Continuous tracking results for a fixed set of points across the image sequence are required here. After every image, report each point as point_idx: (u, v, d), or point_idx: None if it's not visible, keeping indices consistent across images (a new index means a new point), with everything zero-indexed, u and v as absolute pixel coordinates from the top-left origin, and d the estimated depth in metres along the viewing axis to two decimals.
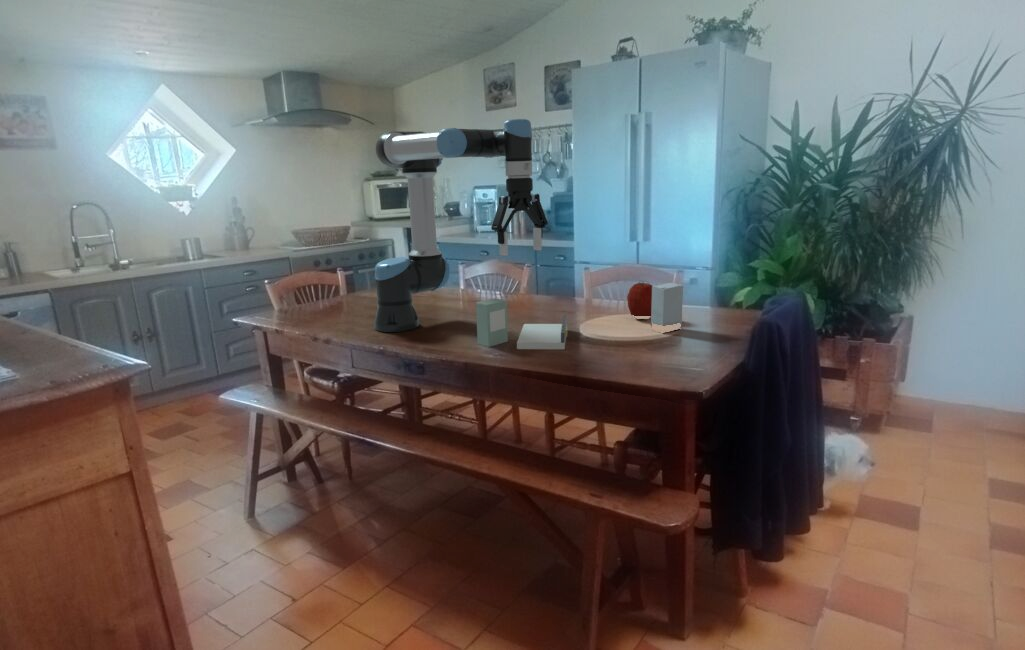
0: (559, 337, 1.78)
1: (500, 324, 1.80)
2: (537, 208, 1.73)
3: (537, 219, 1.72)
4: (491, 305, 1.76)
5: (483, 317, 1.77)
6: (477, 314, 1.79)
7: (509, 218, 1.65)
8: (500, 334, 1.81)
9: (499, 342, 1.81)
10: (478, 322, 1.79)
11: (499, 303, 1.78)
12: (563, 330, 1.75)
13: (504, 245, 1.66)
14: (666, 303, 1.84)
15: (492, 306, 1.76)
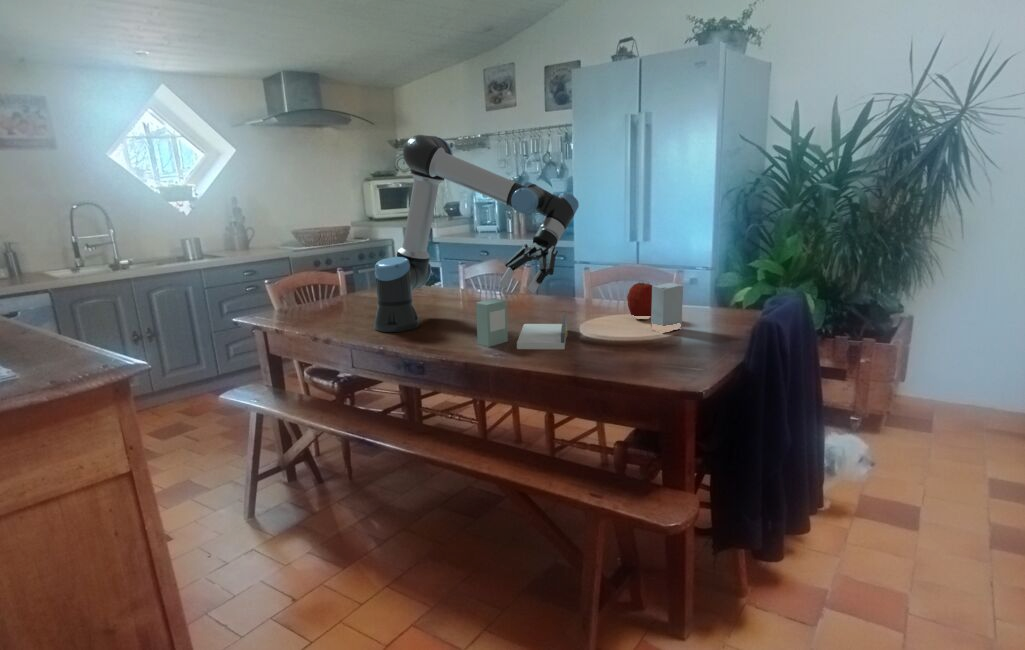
0: (559, 337, 1.78)
1: (500, 324, 1.80)
2: None
3: None
4: (491, 305, 1.76)
5: (483, 317, 1.77)
6: (477, 314, 1.79)
7: None
8: (500, 334, 1.81)
9: (499, 342, 1.81)
10: (478, 322, 1.79)
11: (499, 303, 1.78)
12: (563, 330, 1.75)
13: (537, 285, 1.81)
14: (666, 303, 1.84)
15: (492, 306, 1.77)
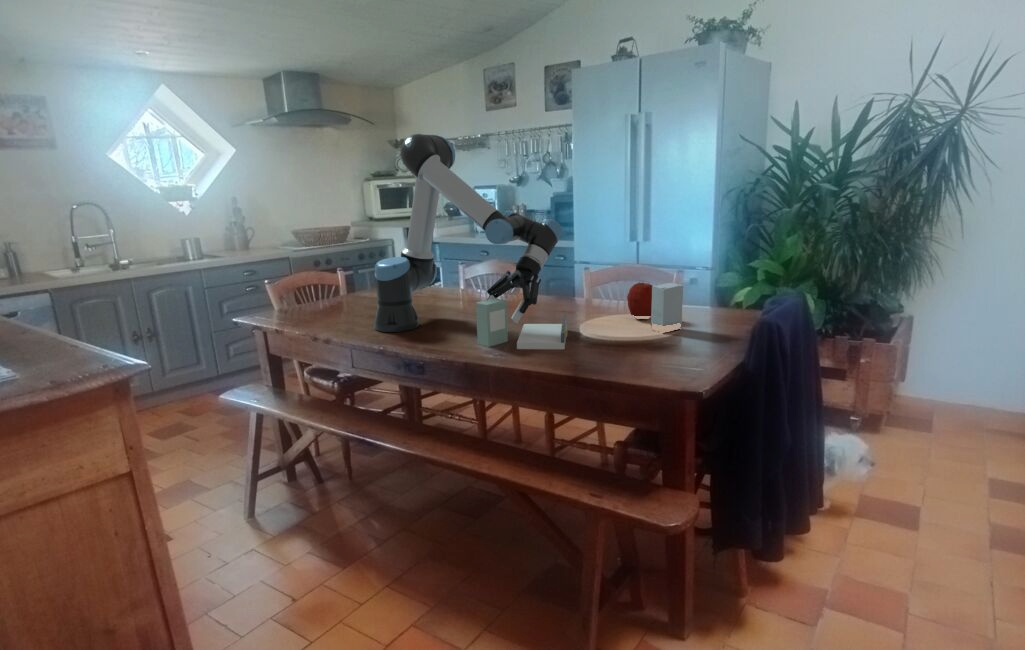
0: (559, 337, 1.78)
1: (500, 324, 1.80)
2: (503, 283, 1.90)
3: None
4: (491, 305, 1.76)
5: (483, 317, 1.77)
6: (477, 314, 1.79)
7: None
8: (500, 334, 1.81)
9: (499, 342, 1.81)
10: (478, 322, 1.79)
11: (499, 303, 1.78)
12: (563, 330, 1.75)
13: (520, 314, 1.77)
14: (666, 303, 1.84)
15: (492, 306, 1.77)
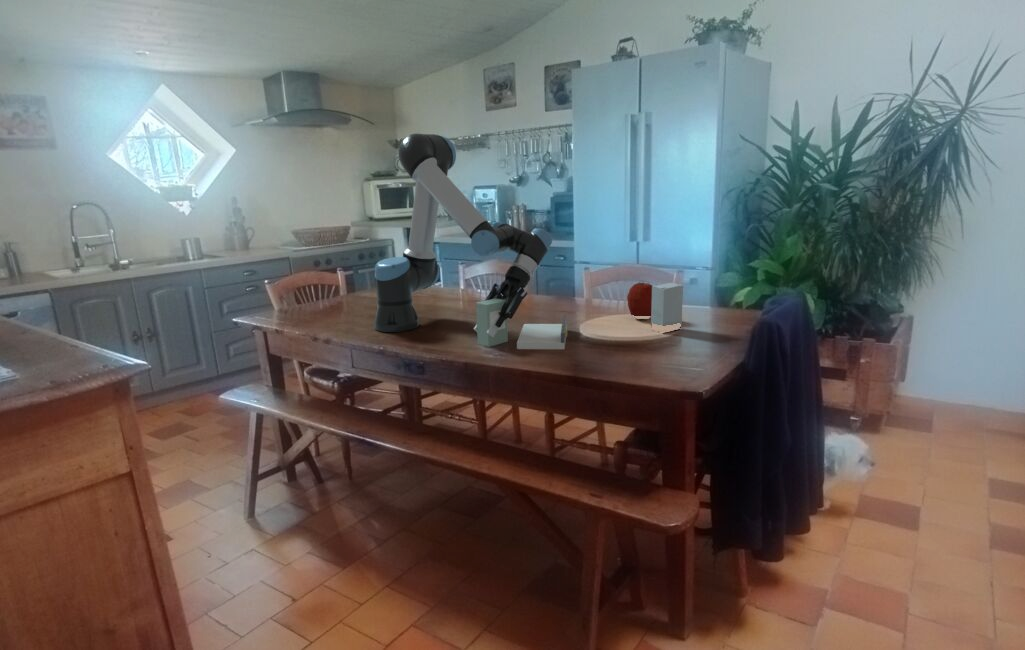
0: (559, 337, 1.78)
1: None
2: (494, 297, 1.87)
3: None
4: (491, 305, 1.76)
5: (483, 317, 1.77)
6: (477, 314, 1.79)
7: None
8: (500, 334, 1.81)
9: (499, 342, 1.81)
10: (478, 322, 1.79)
11: (499, 303, 1.78)
12: (563, 330, 1.75)
13: (496, 328, 1.78)
14: (666, 303, 1.84)
15: (492, 306, 1.77)
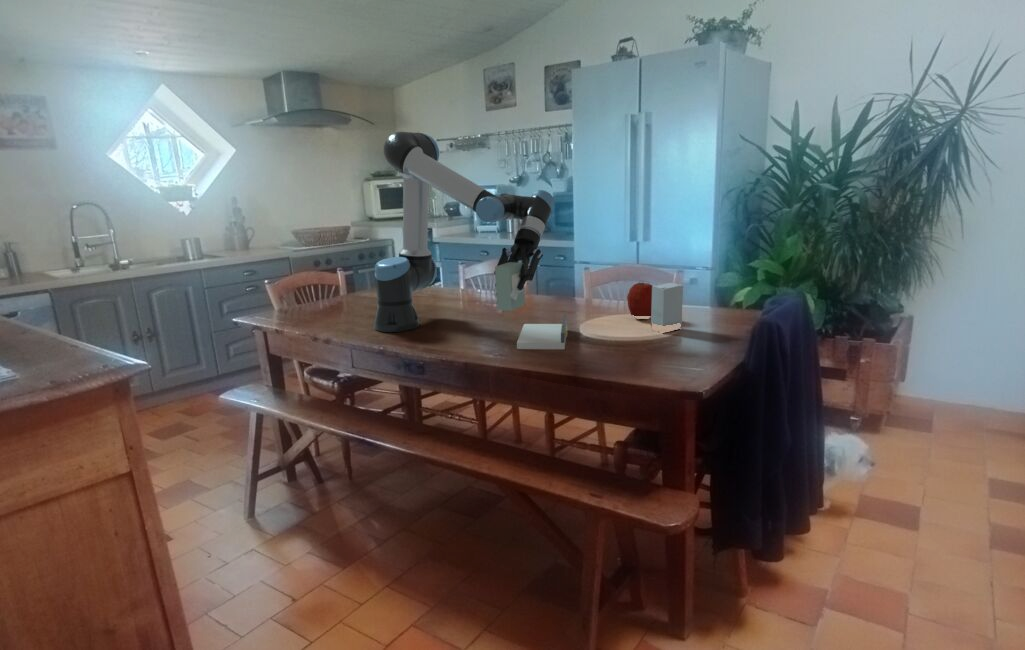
0: (559, 337, 1.78)
1: None
2: (505, 261, 1.83)
3: None
4: (512, 268, 1.73)
5: (505, 280, 1.74)
6: (497, 278, 1.75)
7: None
8: (519, 297, 1.79)
9: (519, 305, 1.79)
10: (498, 287, 1.75)
11: (518, 266, 1.76)
12: (563, 330, 1.75)
13: (518, 291, 1.76)
14: (666, 303, 1.84)
15: (513, 269, 1.74)
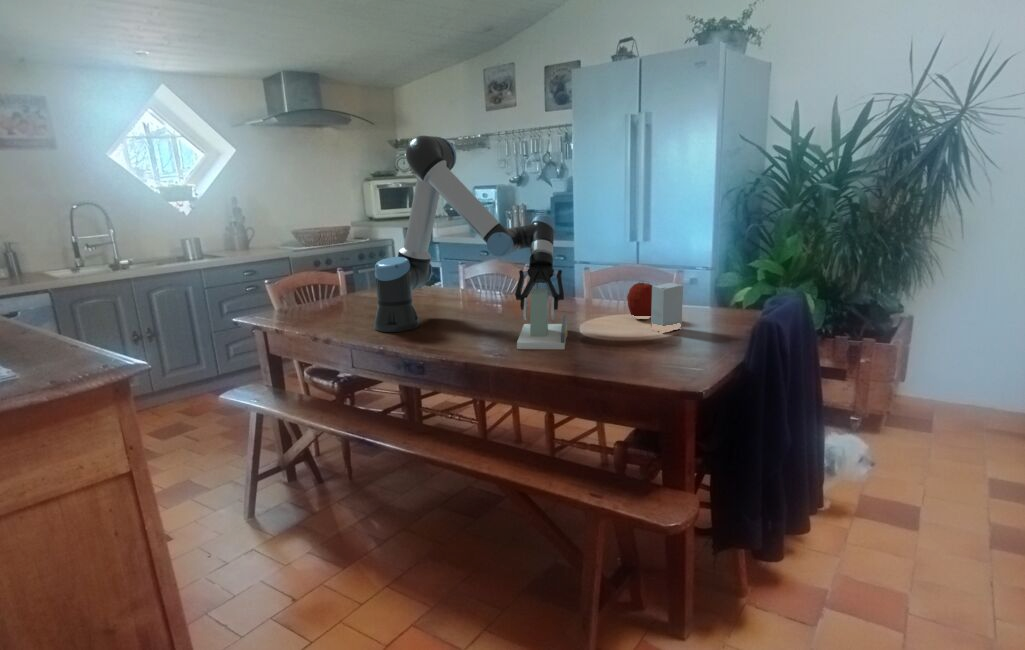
0: (559, 337, 1.78)
1: None
2: (522, 283, 1.87)
3: None
4: (547, 294, 1.79)
5: (541, 307, 1.78)
6: (532, 305, 1.78)
7: None
8: (547, 322, 1.84)
9: (547, 330, 1.84)
10: (533, 313, 1.79)
11: (547, 292, 1.82)
12: (563, 330, 1.75)
13: None
14: (666, 303, 1.84)
15: None
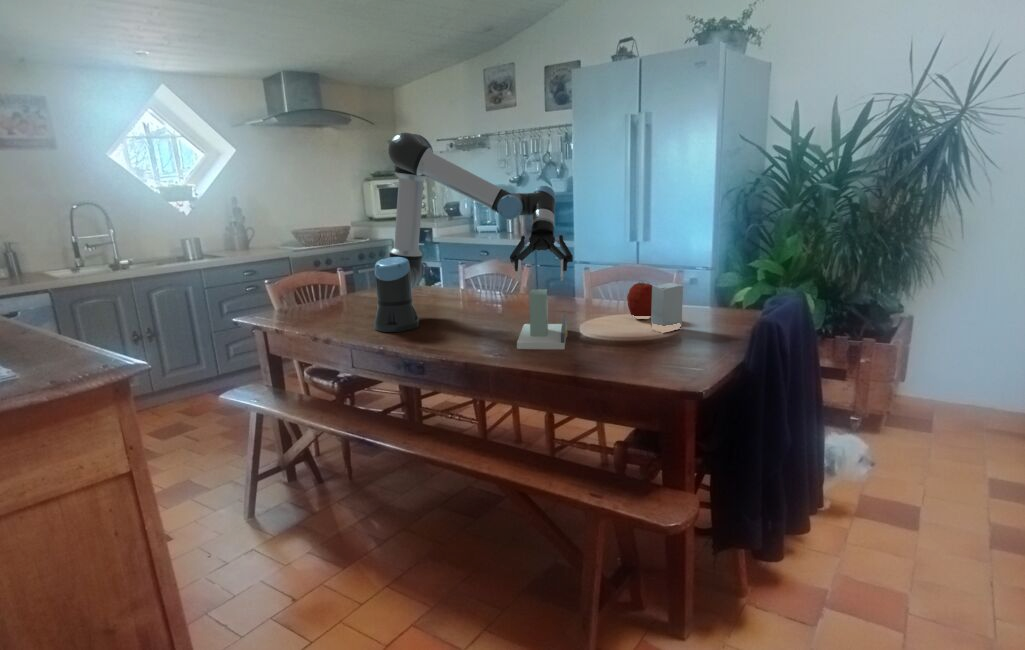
0: (559, 337, 1.78)
1: (547, 313, 1.84)
2: (521, 248, 1.94)
3: None
4: (546, 294, 1.79)
5: (540, 307, 1.78)
6: (531, 306, 1.78)
7: None
8: None
9: (547, 330, 1.84)
10: (532, 314, 1.79)
11: (546, 292, 1.82)
12: (563, 330, 1.75)
13: None
14: (666, 303, 1.84)
15: (546, 295, 1.79)
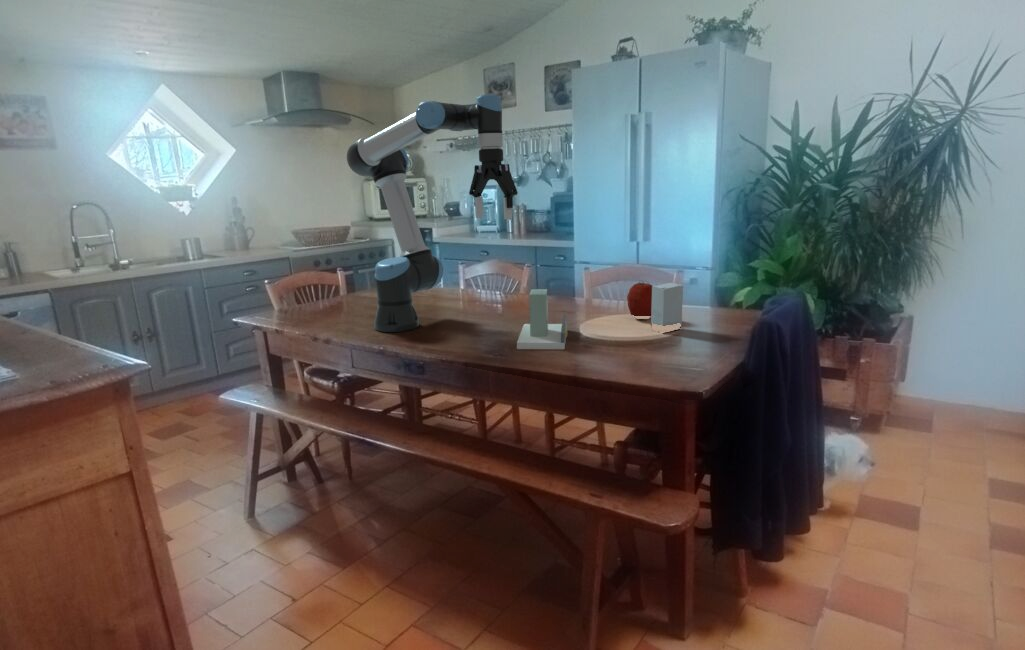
0: (559, 337, 1.78)
1: (547, 313, 1.84)
2: (479, 178, 1.90)
3: None
4: (546, 294, 1.79)
5: (540, 307, 1.78)
6: (531, 306, 1.78)
7: None
8: None
9: (547, 330, 1.84)
10: (532, 314, 1.79)
11: (546, 292, 1.82)
12: (563, 330, 1.75)
13: (510, 209, 1.82)
14: (666, 303, 1.84)
15: (546, 295, 1.79)
